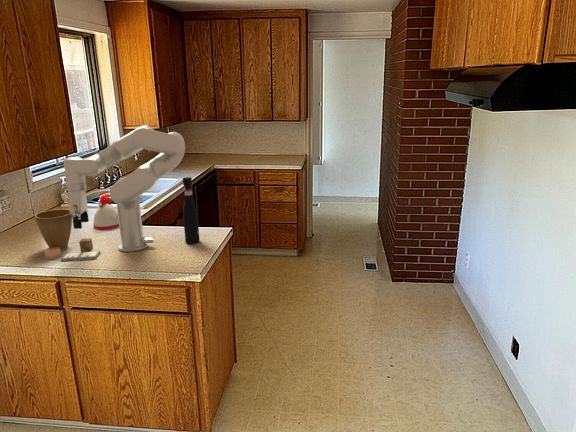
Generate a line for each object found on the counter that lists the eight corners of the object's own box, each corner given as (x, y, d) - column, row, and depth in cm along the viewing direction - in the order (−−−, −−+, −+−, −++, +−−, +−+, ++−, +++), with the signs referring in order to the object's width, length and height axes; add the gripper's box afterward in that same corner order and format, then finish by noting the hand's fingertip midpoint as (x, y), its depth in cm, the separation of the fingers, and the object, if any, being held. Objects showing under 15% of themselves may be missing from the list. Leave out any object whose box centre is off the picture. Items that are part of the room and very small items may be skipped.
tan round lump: (63, 254, 197) (62, 246, 196) (58, 259, 192) (57, 251, 191) (48, 255, 197) (47, 247, 196) (43, 260, 191) (42, 252, 190)
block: (92, 248, 203) (91, 238, 202) (90, 251, 199) (88, 240, 198) (83, 249, 203) (82, 238, 201) (80, 252, 199) (79, 241, 198)
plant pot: (39, 254, 197) (32, 219, 192) (42, 244, 210) (36, 211, 206) (76, 249, 202) (71, 215, 198) (77, 240, 215) (72, 207, 211)
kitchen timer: (127, 223, 240) (124, 196, 236) (107, 231, 228) (103, 202, 224) (109, 220, 246) (105, 193, 242) (88, 227, 235) (83, 199, 231)
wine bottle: (184, 241, 210) (178, 177, 202) (198, 239, 213) (192, 176, 204) (187, 245, 204) (181, 179, 196) (201, 243, 207) (195, 178, 199)
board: (100, 253, 197) (100, 250, 197) (96, 258, 191) (95, 256, 190) (66, 255, 196) (66, 252, 195) (61, 261, 189) (60, 258, 189)
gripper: (73, 182, 201) (78, 219, 206) (60, 191, 184) (65, 231, 189) (91, 182, 202) (95, 219, 207) (79, 190, 185) (84, 230, 190)
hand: (81, 225), depth 198 cm, fingers open, 9 cm apart
